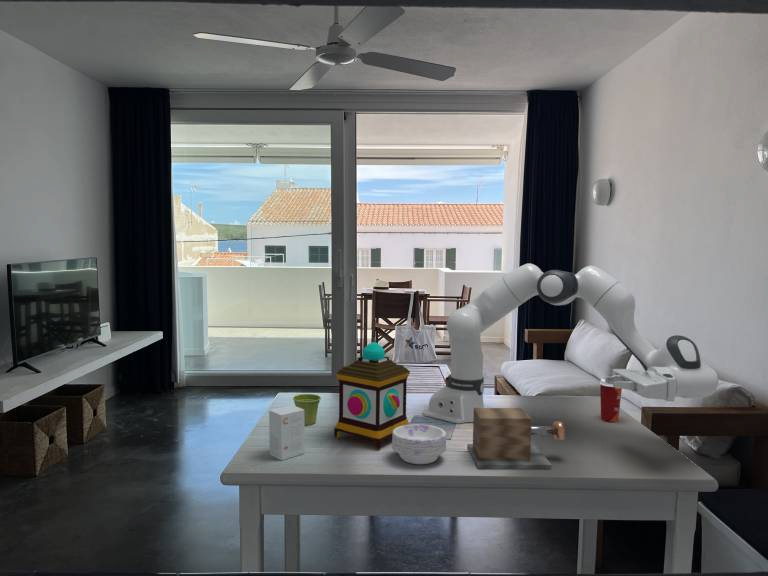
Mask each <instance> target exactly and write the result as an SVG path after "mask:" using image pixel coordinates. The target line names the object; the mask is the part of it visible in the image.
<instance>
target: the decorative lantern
mask: <svg viewBox="0 0 768 576" xmlns="http://www.w3.org/2000/svg"><path fill="white" fill-rule="evenodd" d="M410 373H411V371H410V370H409V369H408V368H407V367H405V366H404V365H403V364H399V363H398V364H397V363H396V362H394V361H393V360H392V359H390V357H389V356H386V355H385V348H383V347H382V346H381V345H380V343H378V342H374V341H373V342H370V343H368V344H367V345H366V346H365V347H364V348H363V350H362V356H359V357H357V360H355V361H354V362H353V363H350V364H348V365H345V366H343V367H342V368H340V369H339V370H338V371H337V372H336V373H335V374H336V375H335V376H336V378H337V379H338V383H339V385H338V387H339V389H338V392H339V393H338V396H339V397H338V401H339V402H338V420H337V422H336V425H335V427H334V431H333V433H334V438H335V439H338V438H339V439H340V438H341V433H345V434H349V435H353V436H357V437H360V438H365V439H367V440H372V441H374V443H375V448H376V450H377V451H379V450H380V449H381V448H382V447H381V446H382V443H383V441H384V440H386V439H387V438H390V437H392V432H393V430H394V429H395V428H397V427H399V426H403V425H410V422H409V420H408V418H407V386H408V385H407V384H408V383H407V381H408V377H409V376H410ZM339 439H338V440H339Z"/></svg>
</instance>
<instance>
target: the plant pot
mask: <svg viewBox="0 0 768 576" xmlns="http://www.w3.org/2000/svg"><path fill="white" fill-rule="evenodd" d="M321 399H322V396H320V395H318V394H312V393H301V394H297V395H294V396H293V397H292V400H293V402H294V403H293V404H294V406H296V407H299V408H301V409H304V426H311V425H314V424H316V422H317V416H318V409H319V404H320V402H321Z"/></svg>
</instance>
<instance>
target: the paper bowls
mask: <svg viewBox="0 0 768 576" xmlns="http://www.w3.org/2000/svg"><path fill="white" fill-rule="evenodd" d="M409 424H410V423H409ZM391 438H392V439H391V448H392V449H391V450H393V451H394V452H396V453H397V454H399V456H400V458H401V459H402V460H403V461H404V462H406V463H408V464H412V465H413V464H414V465H428V464H431V463H434V462H436V461H437V459H438V458H439V456H441V455H442V454H444V453H445V452H446V451H447V433H446V431H445V430H444V429H443V428H441V427H438V426H435V425H430V424H423V423H417V424H415V423H413V424H410V425H403V426H399V427H397V428H395V429H394V430H393V432H392V436H391Z"/></svg>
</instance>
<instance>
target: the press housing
mask: <svg viewBox="0 0 768 576" xmlns="http://www.w3.org/2000/svg"><path fill="white" fill-rule="evenodd" d="M472 426H473V427H472V443H467V447H466V448H467V450H468V452H469V454H470V456H471V458H472V460H473V462H474V464H475V466H476V468H477V469H478V470H552V467H553V465H552V463H551V462H550V461H549V460H548V458H546V456H545V455H544V454H543V452H542V451H541V450H540V449H539V448H538V446H536V444H535V443H532V442H531V441H532V435H531V426H532V417H530V415H529V414H528V413H527V411H525V410H524V409H523V408H522V407H484V408H474V416H473V422H472Z"/></svg>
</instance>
